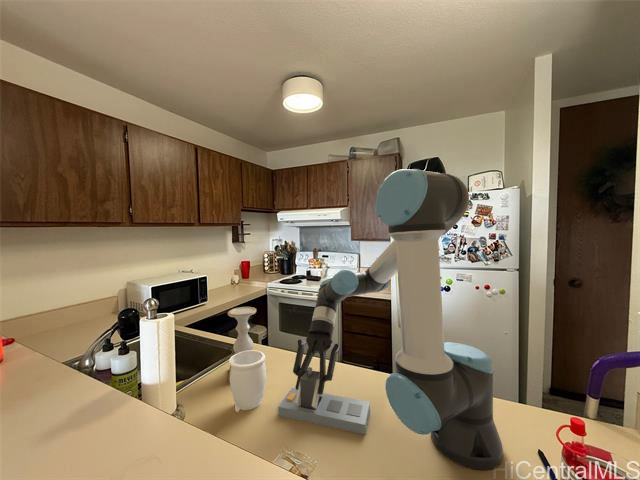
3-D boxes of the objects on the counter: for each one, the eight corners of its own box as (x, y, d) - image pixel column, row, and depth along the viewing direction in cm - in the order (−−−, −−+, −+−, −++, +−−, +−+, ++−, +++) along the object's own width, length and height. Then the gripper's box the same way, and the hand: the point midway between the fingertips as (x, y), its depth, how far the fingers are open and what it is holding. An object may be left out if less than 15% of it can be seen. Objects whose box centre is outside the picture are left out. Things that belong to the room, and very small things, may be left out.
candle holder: (259, 364, 103) (257, 305, 102) (260, 379, 92) (257, 313, 91) (230, 368, 100) (227, 307, 99) (227, 384, 89) (225, 316, 89)
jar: (223, 413, 75) (221, 363, 74) (245, 392, 85) (243, 347, 84) (254, 422, 71) (252, 368, 71) (273, 399, 81) (272, 352, 80)
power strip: (370, 415, 72) (369, 399, 72) (365, 440, 64) (365, 422, 64) (292, 400, 80) (291, 386, 80) (278, 420, 71) (278, 404, 71)
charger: (320, 405, 75) (319, 364, 75) (314, 417, 70) (313, 374, 70) (307, 403, 76) (306, 363, 76) (301, 414, 71) (300, 372, 71)
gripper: (350, 331, 84) (339, 414, 69) (301, 326, 90) (282, 403, 75) (346, 320, 79) (333, 408, 64) (295, 316, 85) (272, 396, 69)
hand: (305, 405), depth 69 cm, fingers closed on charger, 4 cm apart
